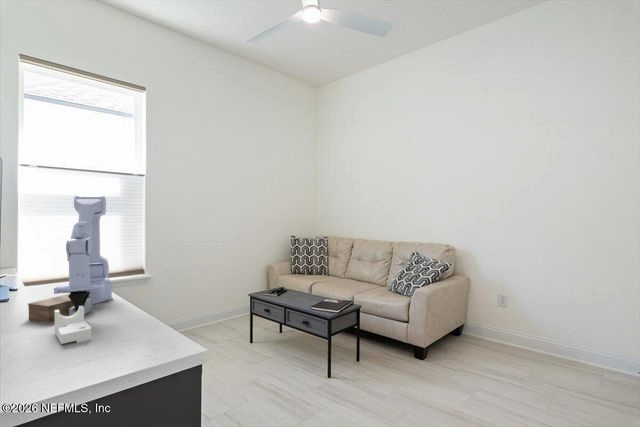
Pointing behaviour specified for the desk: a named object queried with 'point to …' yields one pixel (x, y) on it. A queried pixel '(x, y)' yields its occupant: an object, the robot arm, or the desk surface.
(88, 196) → the robot arm
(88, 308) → the door
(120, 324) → the desk surface
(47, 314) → the cabinet
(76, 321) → the bracket
